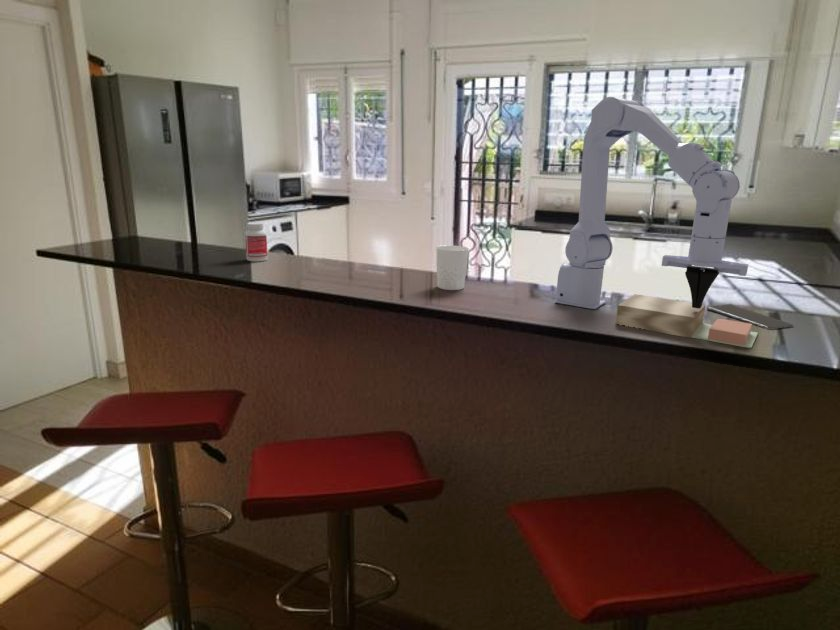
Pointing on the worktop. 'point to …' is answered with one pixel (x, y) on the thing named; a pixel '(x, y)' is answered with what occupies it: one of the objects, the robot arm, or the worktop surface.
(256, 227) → the pill bottle
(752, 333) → the mat
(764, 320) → the smartphone
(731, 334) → the pink rubber eraser
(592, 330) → the worktop surface
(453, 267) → the white cup
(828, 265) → the worktop surface
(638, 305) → the wooden block
